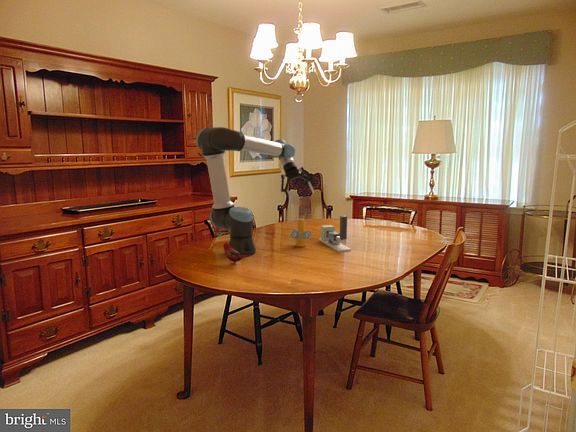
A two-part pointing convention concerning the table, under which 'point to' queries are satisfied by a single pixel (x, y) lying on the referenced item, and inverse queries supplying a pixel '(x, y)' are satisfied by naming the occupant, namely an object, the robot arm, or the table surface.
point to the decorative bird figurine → (232, 254)
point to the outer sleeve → (331, 238)
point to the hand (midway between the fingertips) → (302, 196)
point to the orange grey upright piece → (301, 233)
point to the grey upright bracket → (342, 230)
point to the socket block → (326, 231)
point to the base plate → (336, 246)
